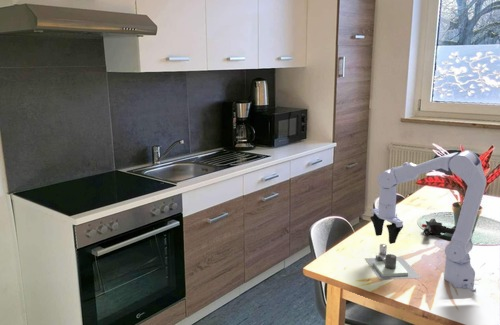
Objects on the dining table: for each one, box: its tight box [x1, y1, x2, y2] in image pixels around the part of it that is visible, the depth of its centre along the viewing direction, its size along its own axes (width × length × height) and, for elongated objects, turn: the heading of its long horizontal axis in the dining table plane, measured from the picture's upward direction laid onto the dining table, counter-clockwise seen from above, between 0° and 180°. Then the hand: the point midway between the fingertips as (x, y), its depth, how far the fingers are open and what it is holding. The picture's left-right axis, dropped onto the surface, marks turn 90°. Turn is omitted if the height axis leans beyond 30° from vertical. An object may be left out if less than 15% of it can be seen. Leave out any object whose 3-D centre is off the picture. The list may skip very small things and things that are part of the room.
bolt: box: [378, 243, 388, 262], centre depth 158 cm, size 6×2×4 cm, turn 4°
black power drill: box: [421, 218, 456, 237], centre depth 185 cm, size 5×20×15 cm
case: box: [364, 254, 422, 281], centre depth 154 cm, size 16×14×2 cm
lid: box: [373, 253, 408, 277], centre depth 152 cm, size 9×9×5 cm
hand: (385, 239), depth 158 cm, fingers open, 7 cm apart
